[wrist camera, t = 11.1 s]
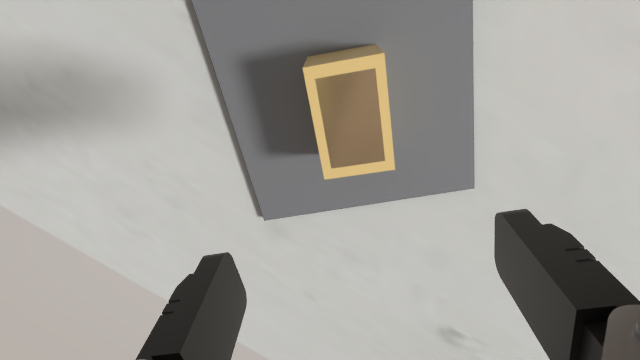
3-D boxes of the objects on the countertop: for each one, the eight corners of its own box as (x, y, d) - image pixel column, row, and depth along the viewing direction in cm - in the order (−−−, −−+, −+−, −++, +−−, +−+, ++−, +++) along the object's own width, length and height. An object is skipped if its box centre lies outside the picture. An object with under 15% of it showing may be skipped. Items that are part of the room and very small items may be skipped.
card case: (376, 43, 24) (384, 52, 20) (386, 144, 27) (395, 169, 23) (307, 56, 25) (302, 67, 21) (325, 153, 28) (324, 179, 24)
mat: (471, 184, 29) (474, 188, 29) (265, 216, 32) (264, 220, 31) (468, -72, 22) (471, -73, 21) (193, -4, 24) (190, -4, 23)
